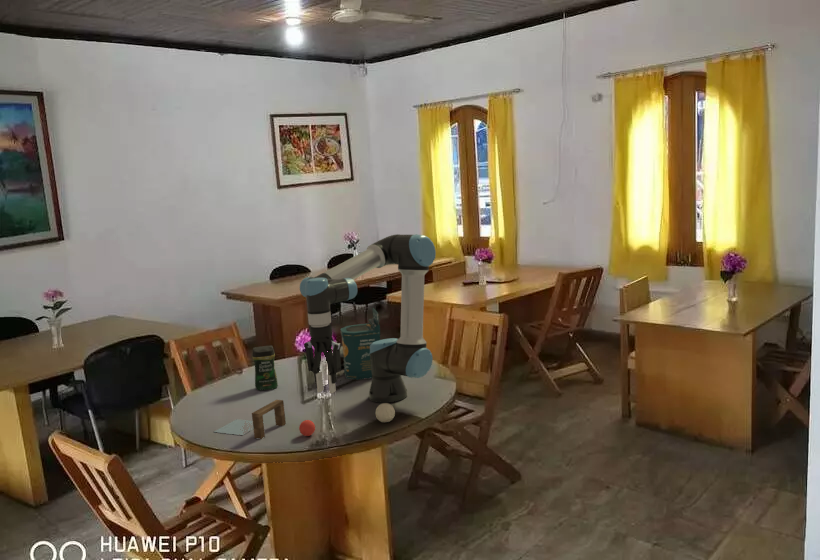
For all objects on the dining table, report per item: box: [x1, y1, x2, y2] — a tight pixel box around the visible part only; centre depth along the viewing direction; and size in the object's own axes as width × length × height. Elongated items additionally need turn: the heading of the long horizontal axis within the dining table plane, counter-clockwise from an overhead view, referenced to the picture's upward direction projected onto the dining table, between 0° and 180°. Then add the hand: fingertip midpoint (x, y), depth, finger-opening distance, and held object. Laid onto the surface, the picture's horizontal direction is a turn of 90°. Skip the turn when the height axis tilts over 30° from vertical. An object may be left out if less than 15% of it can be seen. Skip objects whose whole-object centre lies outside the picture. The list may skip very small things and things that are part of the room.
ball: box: [298, 419, 316, 437], centre depth 243 cm, size 6×6×6 cm
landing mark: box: [213, 418, 253, 436], centre depth 257 cm, size 13×13×1 cm
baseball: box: [375, 402, 396, 423], centre depth 251 cm, size 7×7×7 cm
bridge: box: [251, 399, 287, 440], centre depth 250 cm, size 3×14×9 cm, turn 154°
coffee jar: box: [251, 345, 279, 391], centre depth 301 cm, size 10×8×19 cm
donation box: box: [340, 307, 381, 381], centre depth 311 cm, size 16×16×28 cm
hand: (326, 391), depth 237 cm, fingers open, 4 cm apart
